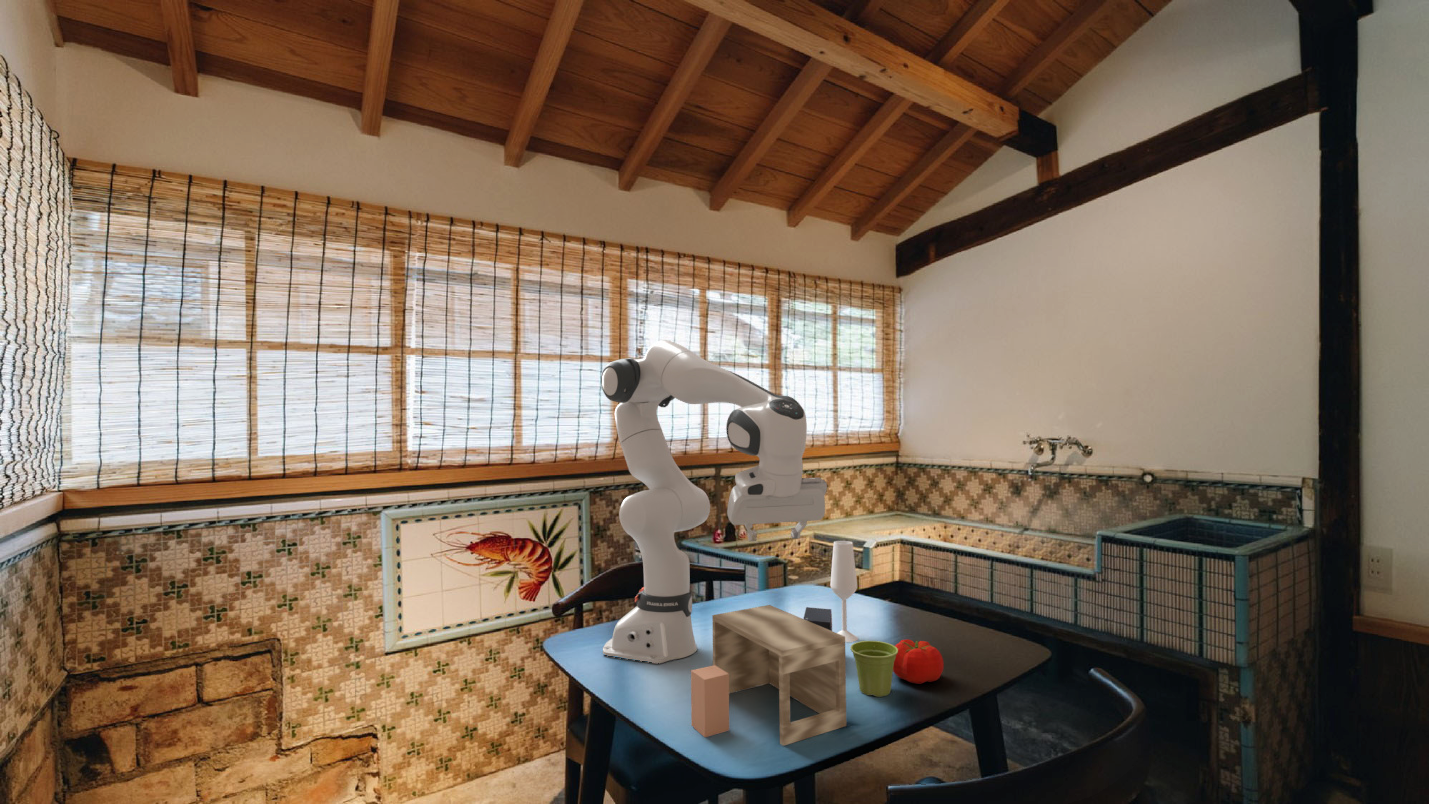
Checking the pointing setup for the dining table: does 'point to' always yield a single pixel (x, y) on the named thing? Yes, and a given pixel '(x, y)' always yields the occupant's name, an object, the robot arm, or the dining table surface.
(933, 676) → the tomato
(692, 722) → the terracotta block
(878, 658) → the plant pot
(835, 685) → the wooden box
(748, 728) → the dining table surface
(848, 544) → the champagne flute
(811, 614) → the small box
